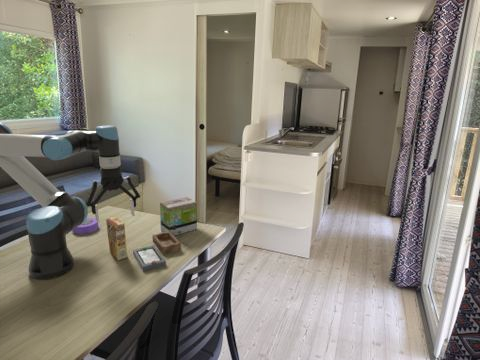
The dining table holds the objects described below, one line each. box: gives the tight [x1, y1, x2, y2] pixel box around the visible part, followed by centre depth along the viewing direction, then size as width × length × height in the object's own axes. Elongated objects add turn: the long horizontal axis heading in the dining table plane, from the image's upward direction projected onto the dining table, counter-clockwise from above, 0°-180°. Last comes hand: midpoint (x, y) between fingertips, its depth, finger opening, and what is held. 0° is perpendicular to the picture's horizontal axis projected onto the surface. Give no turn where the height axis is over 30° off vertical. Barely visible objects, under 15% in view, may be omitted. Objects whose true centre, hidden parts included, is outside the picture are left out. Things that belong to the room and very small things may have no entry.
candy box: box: [105, 216, 128, 261], centre depth 136 cm, size 9×4×15 cm, turn 44°
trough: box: [152, 231, 182, 256], centre depth 146 cm, size 8×14×4 cm, turn 31°
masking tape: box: [71, 217, 99, 235], centre depth 161 cm, size 12×12×4 cm
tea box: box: [159, 196, 198, 237], centre depth 161 cm, size 15×10×15 cm, turn 129°
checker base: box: [132, 244, 167, 272], centre depth 135 cm, size 9×15×3 cm, turn 31°
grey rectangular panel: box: [138, 249, 160, 264], centre depth 135 cm, size 6×11×1 cm, turn 31°
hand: (115, 217), depth 134 cm, fingers open, 13 cm apart
